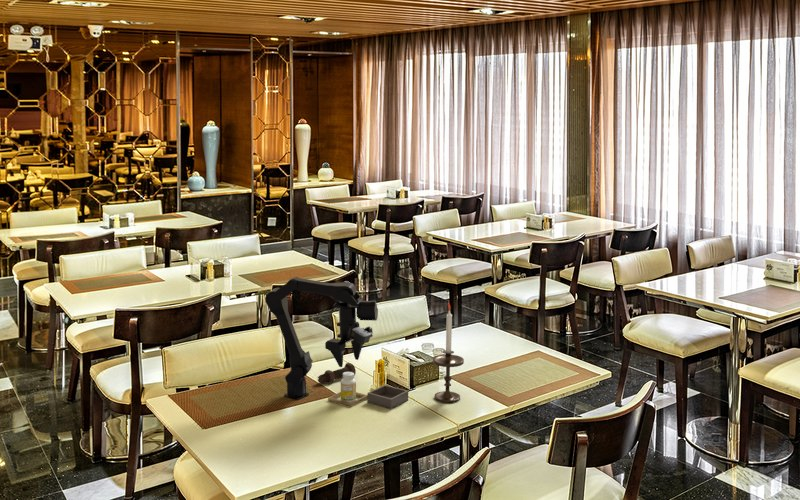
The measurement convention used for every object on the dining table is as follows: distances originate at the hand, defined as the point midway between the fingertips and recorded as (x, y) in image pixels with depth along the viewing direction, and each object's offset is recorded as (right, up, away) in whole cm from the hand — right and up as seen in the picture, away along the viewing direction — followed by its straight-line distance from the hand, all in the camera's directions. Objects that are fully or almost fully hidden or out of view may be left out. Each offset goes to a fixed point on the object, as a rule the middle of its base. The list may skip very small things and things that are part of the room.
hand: (348, 363), depth 279 cm
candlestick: (+34, -13, +5) cm, 37 cm away
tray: (+13, -13, +1) cm, 19 cm away
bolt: (-6, -10, +22) cm, 25 cm away
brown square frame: (0, -13, +2) cm, 13 cm away
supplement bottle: (0, -13, +2) cm, 13 cm away
